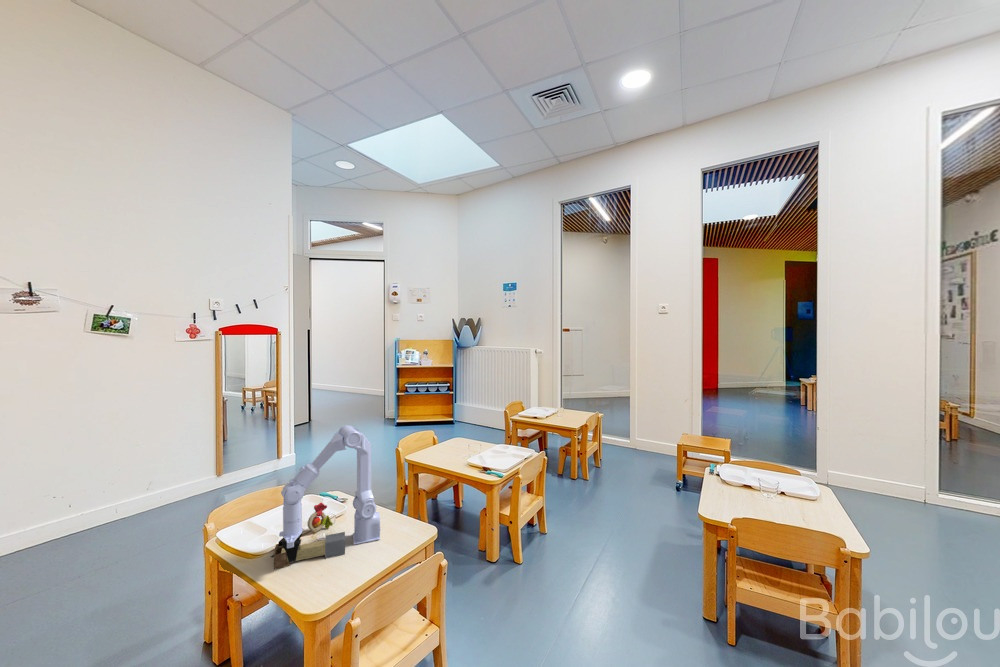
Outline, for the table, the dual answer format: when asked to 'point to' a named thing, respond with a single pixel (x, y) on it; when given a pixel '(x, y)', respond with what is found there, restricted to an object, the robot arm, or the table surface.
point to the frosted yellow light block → (308, 550)
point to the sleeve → (335, 545)
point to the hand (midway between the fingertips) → (293, 556)
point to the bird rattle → (318, 523)
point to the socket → (279, 558)
